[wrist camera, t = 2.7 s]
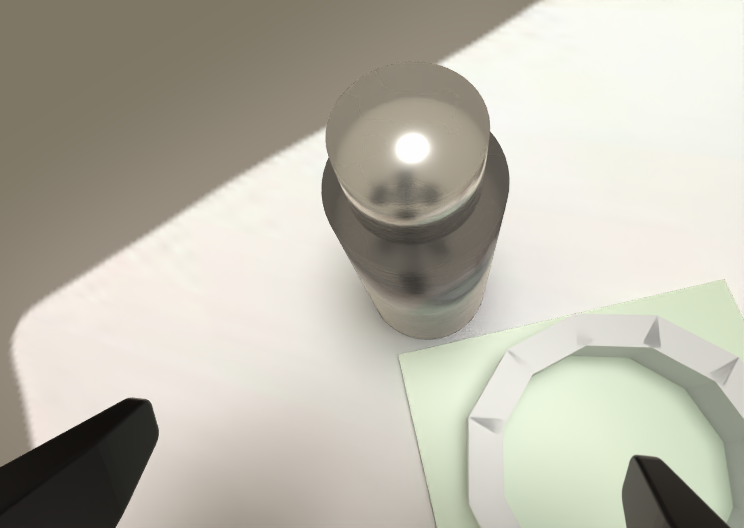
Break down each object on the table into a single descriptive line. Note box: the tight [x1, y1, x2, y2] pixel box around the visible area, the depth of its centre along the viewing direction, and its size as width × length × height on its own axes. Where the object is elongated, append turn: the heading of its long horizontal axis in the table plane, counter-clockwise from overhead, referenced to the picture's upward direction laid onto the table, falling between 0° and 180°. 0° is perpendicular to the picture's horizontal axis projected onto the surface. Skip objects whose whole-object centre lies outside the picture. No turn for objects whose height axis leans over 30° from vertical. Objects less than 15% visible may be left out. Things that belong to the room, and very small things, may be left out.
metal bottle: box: [322, 62, 509, 339], centre depth 18 cm, size 5×5×12 cm
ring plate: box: [398, 279, 744, 528], centre depth 18 cm, size 14×12×3 cm
